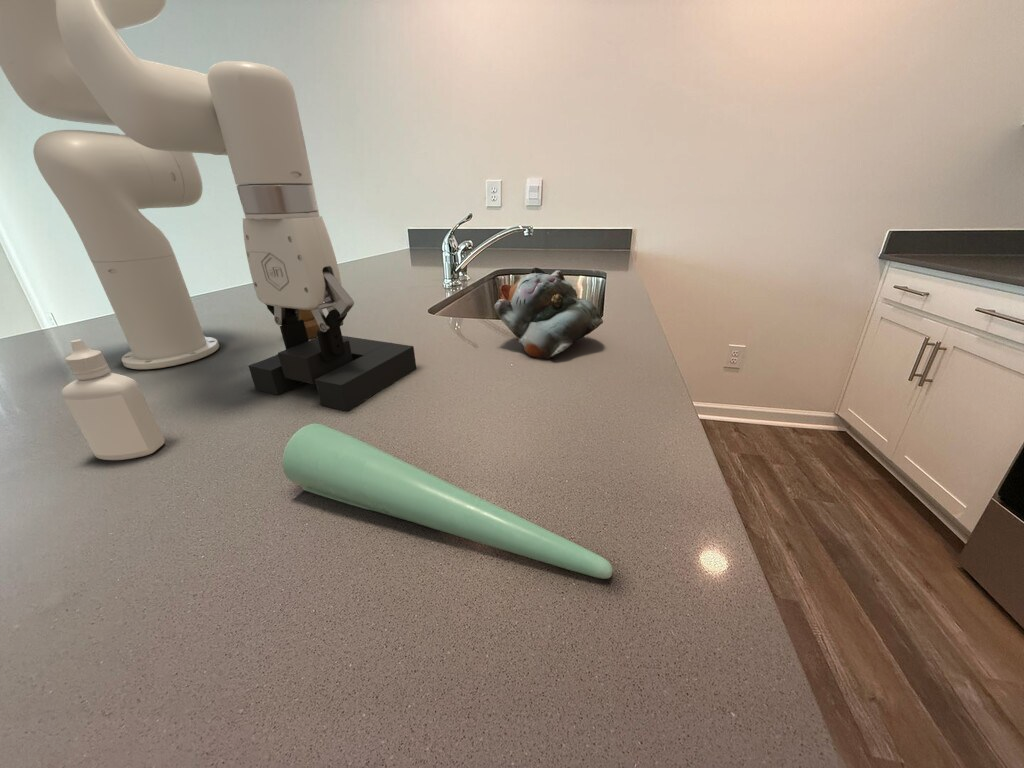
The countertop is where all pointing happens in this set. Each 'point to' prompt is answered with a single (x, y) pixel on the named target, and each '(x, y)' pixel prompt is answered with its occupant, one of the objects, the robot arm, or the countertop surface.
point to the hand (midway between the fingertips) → (316, 353)
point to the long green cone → (421, 498)
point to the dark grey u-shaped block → (345, 373)
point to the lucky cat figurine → (546, 313)
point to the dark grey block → (310, 361)
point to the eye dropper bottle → (109, 408)
